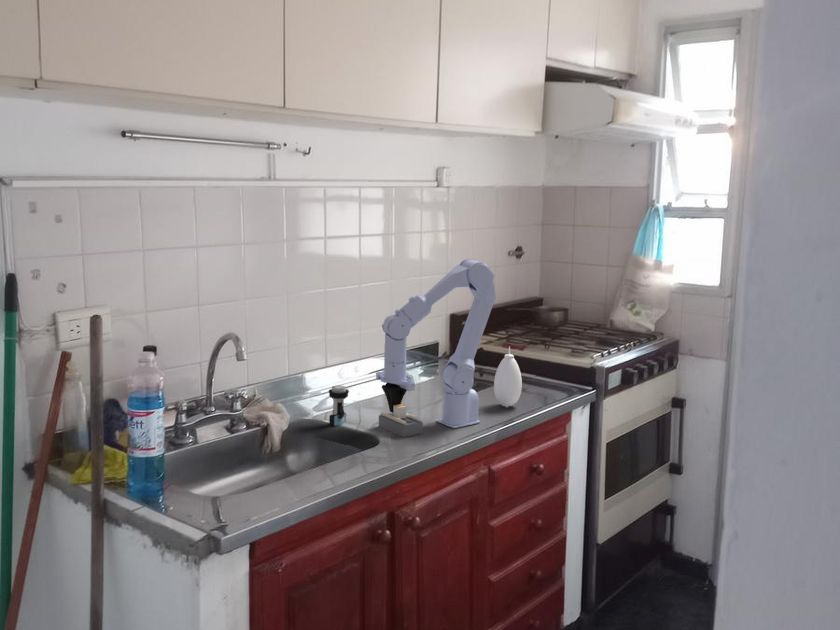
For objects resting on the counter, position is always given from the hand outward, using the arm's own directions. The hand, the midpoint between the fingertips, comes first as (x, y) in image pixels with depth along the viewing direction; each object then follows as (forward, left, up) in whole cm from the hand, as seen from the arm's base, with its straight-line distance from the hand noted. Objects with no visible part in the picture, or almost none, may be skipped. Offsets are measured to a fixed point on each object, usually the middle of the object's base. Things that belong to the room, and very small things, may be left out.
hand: (394, 411), depth 214 cm
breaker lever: (0, +2, -1) cm, 3 cm away
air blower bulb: (-39, +2, -4) cm, 39 cm away
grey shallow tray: (0, +3, -4) cm, 5 cm away
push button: (+10, -11, -4) cm, 15 cm away
